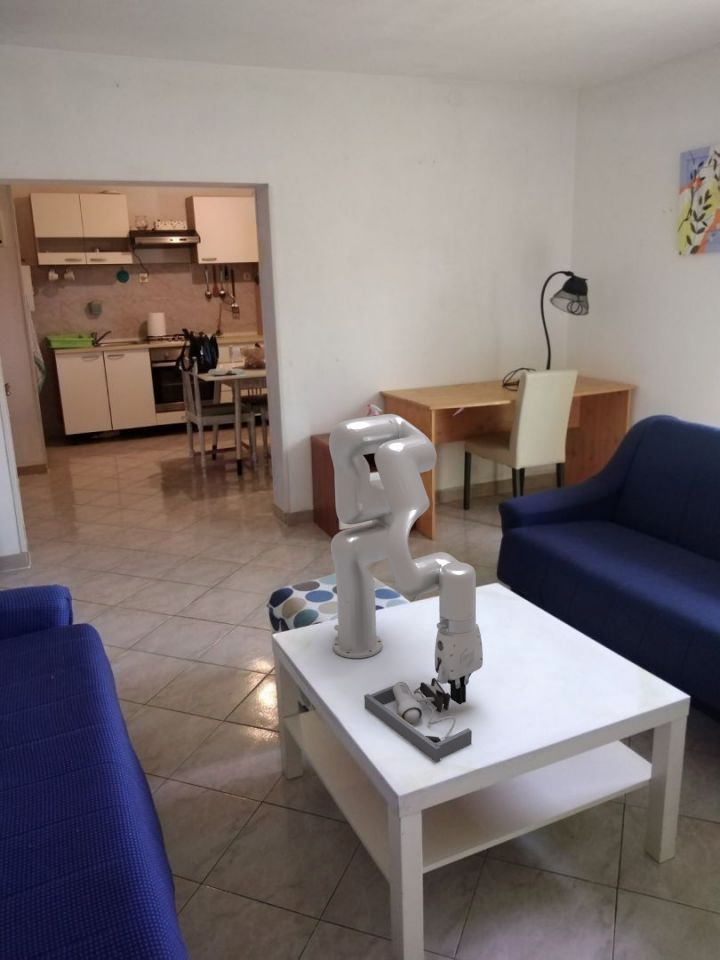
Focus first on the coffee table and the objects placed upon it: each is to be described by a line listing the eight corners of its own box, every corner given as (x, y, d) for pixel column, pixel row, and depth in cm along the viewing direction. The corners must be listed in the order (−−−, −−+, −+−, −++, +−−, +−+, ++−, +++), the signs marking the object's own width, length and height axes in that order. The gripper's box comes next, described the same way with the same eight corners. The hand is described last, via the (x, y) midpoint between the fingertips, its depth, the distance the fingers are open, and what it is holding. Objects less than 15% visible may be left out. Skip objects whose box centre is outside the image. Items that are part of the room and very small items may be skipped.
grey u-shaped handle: (364, 707, 159) (364, 695, 158) (399, 693, 164) (399, 681, 163) (436, 763, 139) (436, 749, 139) (473, 745, 144) (473, 731, 144)
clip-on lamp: (465, 751, 148) (435, 689, 164) (471, 727, 145) (440, 667, 161) (410, 757, 145) (385, 693, 160) (415, 733, 142) (389, 671, 158)
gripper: (442, 638, 145) (443, 720, 149) (496, 618, 153) (495, 696, 158) (418, 625, 151) (420, 705, 155) (471, 606, 159) (471, 682, 164)
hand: (458, 700), depth 157 cm, fingers closed
